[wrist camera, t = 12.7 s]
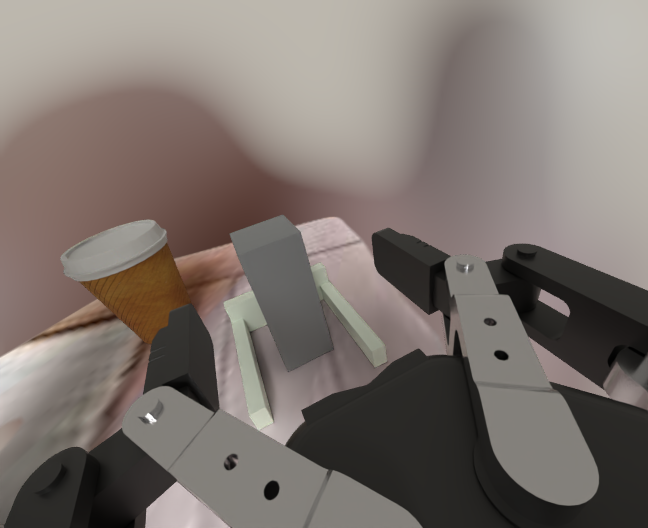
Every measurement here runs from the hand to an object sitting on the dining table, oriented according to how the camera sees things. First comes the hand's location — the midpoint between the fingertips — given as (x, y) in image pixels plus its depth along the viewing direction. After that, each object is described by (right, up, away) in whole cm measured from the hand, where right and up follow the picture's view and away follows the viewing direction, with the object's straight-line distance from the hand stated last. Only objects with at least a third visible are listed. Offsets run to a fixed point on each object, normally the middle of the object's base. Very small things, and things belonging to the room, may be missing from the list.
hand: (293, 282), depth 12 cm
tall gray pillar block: (-1, -7, +15) cm, 16 cm away
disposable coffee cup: (-18, -7, +22) cm, 29 cm away
